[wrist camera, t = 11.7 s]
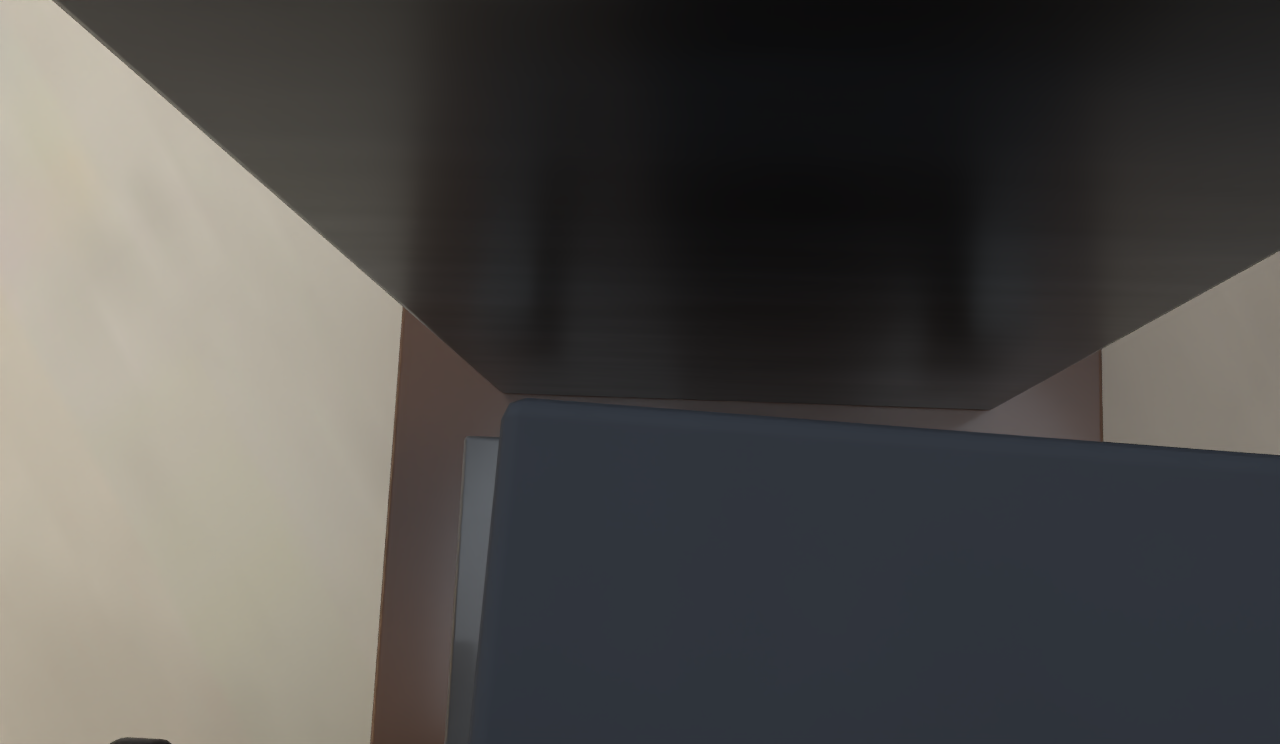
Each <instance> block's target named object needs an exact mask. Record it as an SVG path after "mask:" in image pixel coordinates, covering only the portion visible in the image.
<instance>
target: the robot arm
mask: <svg viewBox="0 0 1280 744" xmlns="http://www.w3.org/2000/svg"><path fill="white" fill-rule="evenodd" d="M110 744H171V743H170V742H169V741H167V740H163V739H147V738H128V737H127V738H121V739H118V740H115V741H114V742H112V743H110Z"/></svg>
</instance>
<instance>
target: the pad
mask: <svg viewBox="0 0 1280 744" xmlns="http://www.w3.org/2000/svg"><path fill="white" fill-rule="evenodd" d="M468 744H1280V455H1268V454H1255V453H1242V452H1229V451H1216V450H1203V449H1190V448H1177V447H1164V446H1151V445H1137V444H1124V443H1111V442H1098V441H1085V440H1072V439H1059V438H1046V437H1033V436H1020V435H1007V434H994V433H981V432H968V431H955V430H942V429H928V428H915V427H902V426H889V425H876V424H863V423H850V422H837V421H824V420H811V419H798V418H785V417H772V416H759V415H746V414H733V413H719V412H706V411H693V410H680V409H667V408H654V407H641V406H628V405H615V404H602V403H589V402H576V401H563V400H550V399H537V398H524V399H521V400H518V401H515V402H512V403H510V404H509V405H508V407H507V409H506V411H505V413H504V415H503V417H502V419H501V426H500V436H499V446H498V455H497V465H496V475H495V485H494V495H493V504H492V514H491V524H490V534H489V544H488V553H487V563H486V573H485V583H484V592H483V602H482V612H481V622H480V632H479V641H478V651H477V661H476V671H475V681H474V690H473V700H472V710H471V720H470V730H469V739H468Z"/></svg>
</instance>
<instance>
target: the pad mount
mask: <svg viewBox="0 0 1280 744" xmlns="http://www.w3.org/2000/svg"><path fill="white" fill-rule="evenodd" d="M52 1H54V2H55V3H56V4H57V5H58V6H59V7H61V8H62V9H63V10H64V11H65V12H66V13H67V14H69V15H70V16H71V17H72V18H73V19H74V20H75V21H77V22H78V23H79V24H80V25H81V26H82V27H83V28H85V29H86V30H87V31H88V32H89V33H90V34H91V35H93V36H94V37H95V38H96V39H97V40H98V41H99V42H101V43H102V44H103V45H104V46H105V47H106V48H107V49H109V50H110V51H111V52H112V53H113V54H114V55H115V56H117V57H118V58H119V59H120V60H121V61H122V62H124V63H125V64H126V65H127V66H128V67H129V68H130V69H132V70H133V71H134V72H135V73H136V74H137V75H138V76H140V77H141V78H142V79H143V80H144V81H145V82H146V83H148V84H149V85H150V86H151V87H152V88H153V89H154V90H156V91H157V92H158V93H159V94H160V95H161V96H162V97H164V98H165V99H166V100H167V101H168V102H169V103H170V104H172V105H173V106H174V107H175V108H176V109H177V110H178V111H180V112H181V113H182V114H183V115H184V116H185V117H187V118H188V119H189V120H190V121H191V122H192V123H193V124H195V125H196V126H197V127H198V128H199V129H200V130H201V131H203V132H204V133H205V134H206V135H207V136H208V137H209V138H211V139H212V140H213V141H214V142H215V143H216V144H217V145H219V146H220V147H221V148H222V149H223V150H224V151H225V152H227V153H228V154H229V155H230V156H231V157H232V158H233V159H235V160H236V161H237V162H238V163H239V164H240V165H241V166H243V167H244V168H245V169H246V170H247V171H248V172H250V173H251V174H252V175H253V176H254V177H255V178H256V179H258V180H259V181H260V182H261V183H262V184H263V185H264V186H266V187H267V188H268V189H269V190H270V191H271V192H272V193H274V194H275V195H276V196H277V197H278V198H279V199H280V200H282V201H283V202H284V203H285V204H286V205H287V206H288V207H290V208H291V209H292V210H293V211H294V212H295V213H296V214H298V215H299V216H300V217H301V218H302V219H303V220H304V221H306V222H307V223H308V224H309V225H310V226H311V227H312V228H314V229H315V230H316V231H317V232H318V233H319V234H321V235H322V236H323V237H324V238H325V239H326V240H327V241H329V242H330V243H331V244H332V245H333V246H334V247H335V248H337V249H338V250H339V251H340V252H341V253H342V254H343V255H345V256H346V257H347V258H348V259H349V260H350V261H351V262H353V263H354V264H355V265H356V266H357V267H358V268H359V269H361V270H362V271H363V272H364V273H365V274H366V275H367V276H369V277H370V278H371V279H372V280H373V281H374V282H375V283H377V284H378V285H379V286H380V287H381V288H382V289H384V290H385V291H386V292H387V293H388V294H389V295H390V296H392V297H393V298H394V299H395V300H396V301H397V302H398V303H400V304H401V305H402V306H403V311H402V324H401V337H400V351H399V364H398V378H397V391H396V405H395V418H394V431H393V445H392V458H391V472H390V485H389V499H388V512H387V525H386V539H385V552H384V566H383V579H382V593H381V606H380V619H379V633H378V646H377V660H376V673H375V687H374V700H373V714H372V727H371V740H370V744H468V739H469V730H470V720H471V710H472V700H473V690H474V681H475V671H476V661H477V651H478V641H479V632H480V622H481V612H482V602H483V592H484V583H485V573H486V563H487V553H488V544H489V534H490V524H491V514H492V504H493V495H494V485H495V475H496V465H497V455H498V446H499V436H500V426H501V419H502V417H503V415H504V413H505V411H506V409H507V407H508V405H509V404H510V403H512V402H515V401H518V400H521V399H524V398H537V399H550V400H563V401H576V402H589V403H602V404H615V405H628V406H641V407H654V408H667V409H680V410H693V411H706V412H719V413H733V414H746V415H759V416H772V417H785V418H798V419H811V420H824V421H837V422H850V423H863V424H876V425H889V426H902V427H915V428H928V429H942V430H955V431H968V432H981V433H994V434H1007V435H1020V436H1033V437H1046V438H1059V439H1072V440H1085V441H1098V442H1103V406H1102V350H1101V349H1102V348H1104V347H1106V346H1108V345H1110V344H1111V343H1113V342H1115V341H1117V340H1119V339H1120V338H1122V337H1124V336H1126V335H1128V334H1130V333H1131V332H1133V331H1135V330H1137V329H1139V328H1140V327H1142V326H1144V325H1146V324H1148V323H1149V322H1151V321H1153V320H1155V319H1157V318H1159V317H1160V316H1162V315H1164V314H1166V313H1168V312H1169V311H1171V310H1173V309H1175V308H1177V307H1178V306H1180V305H1182V304H1184V303H1186V302H1188V301H1189V300H1191V299H1193V298H1195V297H1197V296H1198V295H1200V294H1202V293H1204V292H1206V291H1207V290H1209V289H1211V288H1213V287H1215V286H1217V285H1218V284H1220V283H1222V282H1224V281H1226V280H1227V279H1229V278H1231V277H1233V276H1235V275H1236V274H1238V273H1240V272H1242V271H1244V270H1246V269H1247V268H1249V267H1251V266H1253V265H1255V264H1256V263H1258V262H1260V261H1262V260H1264V259H1265V258H1267V257H1269V256H1271V255H1273V254H1275V253H1276V252H1278V251H1280V0H52Z"/></svg>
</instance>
